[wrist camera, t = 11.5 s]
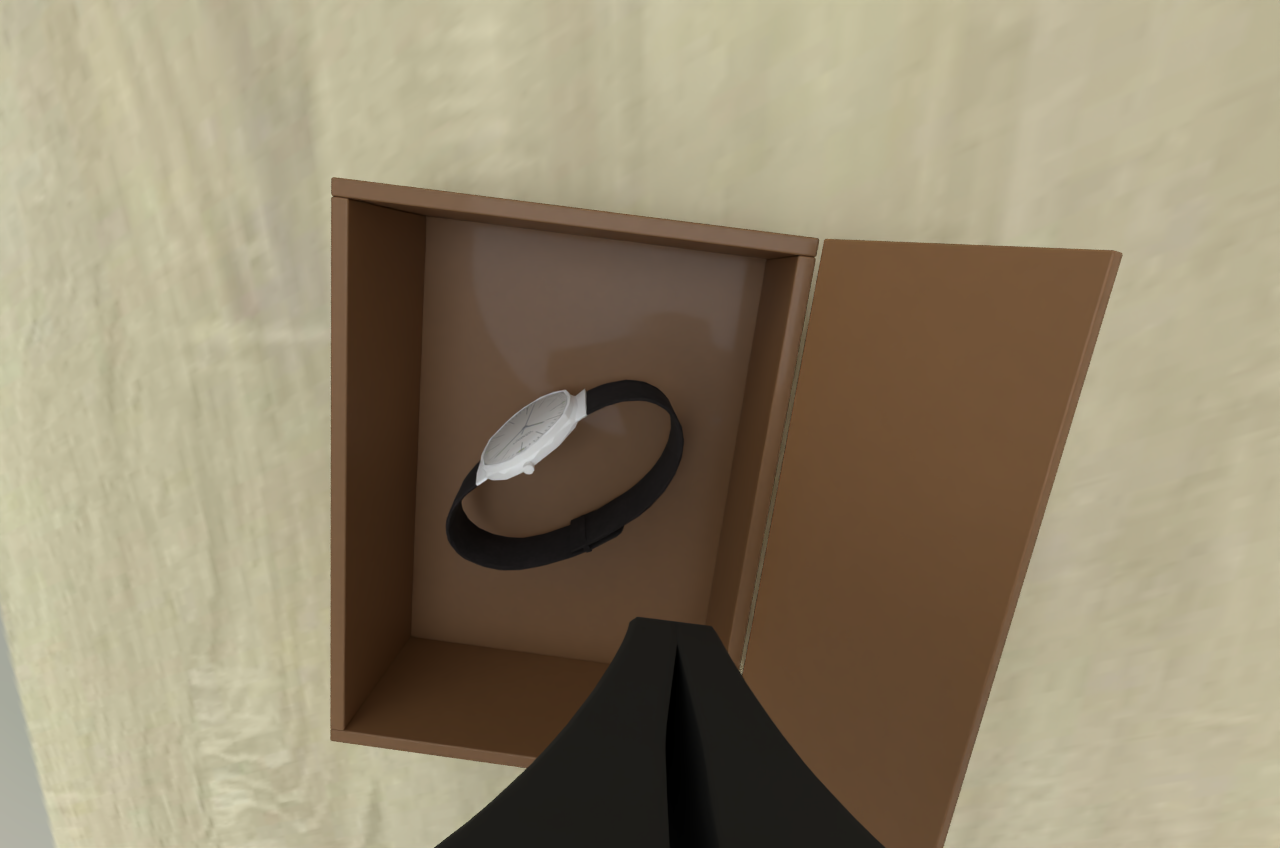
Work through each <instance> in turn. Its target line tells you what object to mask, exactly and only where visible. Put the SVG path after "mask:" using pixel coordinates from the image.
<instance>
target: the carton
mask: <svg viewBox="0 0 1280 848" xmlns="http://www.w3.org/2000/svg"><path fill="white" fill-rule="evenodd" d="M331 194H332V196H333V197H332V198H331V741H336V742H343V743H350V744H358V745H365V746H372V747H379V748H386V749H393V750H401V751H408V752H415V753H422V754H429V755H436V756H444V757H451V758H458V759H465V760H472V761H479V762H487V763H494V764H501V765H508V766H515V767H522V768H528V767H529V766H530V765H531V764H532V762H533V761H534V760H535V759H536V758H537V757H538V756H539V755H540V754H541V753H542V752H543V751H544V750H545V749H546V748H547V747H548V746H549V744H550V743H551V742H552V741H553V740H554V739H555V738H556V737H557V735H558V734H559V733H560V732H561V731H562V730H563V728H564V727H565V726H566V725H567V724H568V722H569V721H570V720H571V718H572V717H573V716H574V714H575V713H576V712H577V711H578V709H579V708H580V707H581V705H582V704H583V703H584V702H585V700H586V699H587V698H588V696H589V695H590V694H591V692H592V691H593V689H594V688H595V687H596V685H597V684H598V682H599V680H600V679H601V677H602V676H603V674H604V673H605V671H606V670H607V668H608V667H609V665H610V663H611V662H612V660H613V658H614V657H615V655H616V653H617V651H618V649H619V648H620V646H621V644H622V642H623V639H624V637H625V635H626V632H627V630H628V626H629V622H630V621H632V620H633V619H634V618H636V617H645V618H653V619H661V620H668V621H676V622H684V623H692V624H700V625H708V626H712V627H713V629H714V630H715V631H716V633H717V634H718V636H719V638H720V639H721V641H722V643H723V645H724V647H725V648H726V650H727V652H728V653H729V655H730V657H731V659H732V660H733V662H734V664H735V665H736V667H737V668H738V670H739V668H740V663H741V658H742V652H743V647H744V642H745V636H746V631H747V625H748V620H749V615H750V609H751V604H752V599H753V593H754V588H755V582H756V577H757V572H758V566H759V561H760V556H761V550H762V545H763V539H764V534H765V529H766V523H767V518H768V513H769V507H770V502H771V497H772V491H773V486H774V480H775V475H776V470H777V464H778V459H779V454H780V448H781V443H782V437H783V432H784V427H785V421H786V416H787V411H788V405H789V400H790V394H791V389H792V384H793V378H794V373H795V368H796V362H797V357H798V352H799V346H800V341H801V335H802V330H803V325H804V319H805V314H806V309H807V303H808V298H809V292H810V287H811V282H812V276H813V271H814V266H815V260H816V259H815V258H814V257H816V255H817V250H818V244H819V239H818V238H812V237H804V236H796V235H788V234H780V233H772V232H764V231H756V230H748V229H740V228H732V227H724V226H716V225H708V224H701V223H693V222H685V221H677V220H669V219H661V218H653V217H645V216H637V215H629V214H621V213H613V212H605V211H597V210H589V209H582V208H574V207H566V206H558V205H550V204H542V203H534V202H526V201H518V200H510V199H502V198H494V197H486V196H478V195H470V194H463V193H455V192H447V191H439V190H431V189H423V188H415V187H407V186H399V185H391V184H383V183H375V182H367V181H359V180H351V179H344V178H336V177H333V178H332V179H331ZM621 380H637V381H643V382H647V383H649V384H651V385H653V386H655V387H657V388H658V389H659V390H661V391H662V392H663V393H664V394H665V395H666V397H667V398H668V399H669V401H670V403H671V405H672V407H673V409H674V412H675V414H676V416H677V418H678V420H679V422H680V424H681V426H682V430H683V437H684V446H683V453H682V459H681V461H680V464H679V466H678V469H677V471H676V474H675V476H674V477H673V479H672V480H671V482H670V484H669V485H668V487H667V489H666V490H665V492H664V493H663V494H662V495H661V496H660V497H659V498H658V499H657V500H656V501H655V502H654V503H653V504H652V506H651V507H650V508H648V509H647V510H646V511H645V512H644V513H642V514H641V515H640V516H639V517H637V518H636V519H634V520H632V521H631V522H629V523H628V524H626V525H624V529H623V531H622V533H621V534H620V535H618V536H617V537H616V538H614V539H612V540H610V541H608V542H606V543H604V544H602V545H600V546H598V547H596V548H594V549H592V552H588V553H586V552H585V553H582V554H580V555H577V556H575V557H572V558H569V559H565V560H562V561H558V562H555V563H551V564H548V565H545V566H540V567H535V568H529V569H524V570H496V569H491V568H486V567H482V566H480V565H477V564H475V563H472V562H470V561H468V560H465V559H464V558H462V557H461V556H460V555H459V554H458V553H456V551H455V550H454V549H453V548H452V546H451V545H450V543H449V542H448V540H447V535H446V526H445V525H446V520H447V516H448V514H449V511H450V509H451V507H452V504H453V502H454V499H455V497H456V495H457V493H458V491H459V489H460V487H461V485H462V482H463V480H464V479H465V477H466V476H467V475H468V473H469V472H470V471H471V470H472V469H473V467H474V466H475V465H476V464H477V463H478V462H479V461H480V460H481V455H482V453H483V451H484V449H485V447H486V445H487V443H488V441H489V439H490V438H491V437H492V436H493V435H494V434H495V433H496V432H497V431H498V430H499V429H500V428H501V427H502V426H503V425H504V424H505V423H506V422H507V421H508V420H509V419H510V418H511V417H512V416H513V415H514V414H516V413H517V412H518V411H520V410H521V409H522V408H524V407H525V406H527V405H529V404H530V403H532V402H534V401H535V400H537V399H538V398H540V397H542V396H545V395H547V394H550V393H552V392H556V391H562V390H567V391H568V392H569V394H570V395H573V396H576V395H577V394H579V393H580V392H581V391H582V390H584V389H585V390H586V391H588V390H590V389H593V388H595V387H597V386H600V385H602V384H606V383H610V382H615V381H621ZM670 430H671V420H670V414H669V413H668V412H667V411H666V410H665V409H663V408H661V407H660V406H658V405H656V404H653V403H650V402H646V401H627V402H620V403H616V404H613V405H609V406H606V407H604V408H601V409H599V410H597V411H595V412H593V413H591V414H589V415H588V416H586V417H585V418H583V419H581V420H580V421H578V423H577V425H576V428H575V429H574V430H573V431H572V432H571V433H570V434H569V435H568V436H567V438H566V439H565V440H564V441H563V442H562V443H561V444H560V445H559V446H558V447H557V448H556V449H555V450H553V451H552V452H551V453H550V454H548V455H547V456H546V457H545V458H543V459H542V460H541V461H540V462H538V463H537V464H536V465H534V472H533V473H532V474H525V473H524V472H523V473H521V474H518V475H516V476H514V477H512V478H509V479H507V480H490V479H487V480H486V481H484V482H483V483H481V484H480V485H479V486H477V487H476V488H475V489H474V490H472V491H471V492H470V493H468V494H467V495H466V496H465V497H464V498H463V500H462V507H463V511H464V512H465V514H466V515H467V517H468V518H469V520H470V521H472V522H473V523H474V524H475V525H476V526H478V527H479V528H481V529H483V530H485V531H488V532H490V533H492V534H496V535H501V536H506V537H517V538H525V537H530V536H535V535H540V534H545V533H548V532H551V531H554V530H557V529H560V528H563V527H566V526H569V525H570V522H571V520H573V519H575V518H578V517H580V516H581V515H585V514H587V513H589V512H592V511H595V510H597V509H599V508H601V507H602V506H604V505H606V504H607V503H609V502H611V501H612V500H614V499H615V498H617V497H619V496H620V495H622V494H623V493H625V492H627V491H628V490H629V489H630V488H632V487H633V486H634V485H636V484H637V483H638V482H639V481H640V480H641V479H642V478H643V477H644V476H645V475H646V474H647V473H648V472H649V471H650V470H651V469H652V468H653V466H654V465H655V464H656V462H657V461H658V460H659V458H660V457H661V455H662V453H663V451H664V449H665V446H666V444H667V442H668V438H669V434H670Z"/></svg>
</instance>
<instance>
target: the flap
mask: <svg viewBox="0 0 1280 848" xmlns="http://www.w3.org/2000/svg"><path fill="white" fill-rule="evenodd" d="M1121 258H1122V253H1120V252H1117V251H1114V250H1090V249H1065V248H1040V247H1015V246H990V245H965V244H940V243H915V242H890V241H865V240H840V239H825V240H824V244H823V249H822V255H821V260H820V265H819V271H818V276H817V281H816V287H815V292H814V297H813V303H812V308H811V313H810V319H809V324H808V329H807V335H806V340H805V345H804V350H803V356H802V361H801V366H800V372H799V377H798V382H797V388H796V393H795V398H794V404H793V409H792V414H791V420H790V425H789V430H788V436H787V441H786V446H785V451H784V457H783V462H782V467H781V473H780V478H779V483H778V489H777V494H776V499H775V505H774V510H773V515H772V521H771V526H770V531H769V537H768V542H767V547H766V552H765V558H764V563H763V568H762V574H761V579H760V584H759V590H758V595H757V600H756V606H755V611H754V616H753V622H752V627H751V632H750V638H749V643H748V648H747V653H746V659H745V664H744V669H743V675H742V676H743V678H744V680H745V681H746V683H747V684H748V686H749V687H750V689H751V690H752V692H753V693H754V695H755V696H756V698H757V699H758V701H759V702H760V704H761V705H762V706H763V708H764V709H765V711H766V712H767V714H768V715H769V717H770V718H771V720H772V721H773V722H774V724H775V725H776V726H777V728H778V729H779V730H780V732H781V733H782V735H783V736H784V737H785V738H786V740H787V741H788V742H789V744H790V745H791V746H792V747H793V749H794V750H795V751H796V753H797V754H798V755H799V756H800V758H801V759H802V760H803V761H804V763H805V764H806V765H807V766H808V767H809V769H810V770H811V771H812V772H813V773H814V774H815V776H816V777H817V778H818V779H819V780H820V781H821V782H822V783H823V784H824V785H825V786H826V788H827V789H828V790H829V791H830V792H831V793H832V794H833V795H834V796H835V797H836V798H837V799H838V800H839V802H840V803H841V804H842V805H843V806H844V807H845V808H846V809H847V810H848V811H849V812H850V813H851V814H852V815H853V816H854V817H855V818H856V819H857V820H858V821H859V822H860V823H861V824H862V825H863V826H864V827H865V828H866V829H867V830H868V831H869V832H870V833H871V834H872V835H873V836H874V837H875V838H876V839H877V840H878V841H879V842H880V843H881V844H882V845H883V846H884V847H886V848H943V846H944V843H945V840H946V836H947V833H948V830H949V826H950V823H951V820H952V817H953V813H954V810H955V807H956V803H957V800H958V797H959V793H960V790H961V787H962V783H963V780H964V777H965V774H966V770H967V767H968V764H969V760H970V757H971V754H972V750H973V747H974V744H975V741H976V737H977V734H978V731H979V727H980V724H981V721H982V717H983V714H984V711H985V707H986V704H987V701H988V698H989V694H990V691H991V688H992V684H993V681H994V678H995V674H996V671H997V668H998V665H999V661H1000V658H1001V655H1002V651H1003V648H1004V645H1005V641H1006V638H1007V635H1008V631H1009V628H1010V625H1011V622H1012V618H1013V615H1014V612H1015V608H1016V605H1017V602H1018V598H1019V595H1020V592H1021V589H1022V585H1023V582H1024V579H1025V575H1026V572H1027V569H1028V565H1029V562H1030V559H1031V555H1032V552H1033V549H1034V546H1035V542H1036V539H1037V536H1038V532H1039V529H1040V526H1041V522H1042V519H1043V516H1044V513H1045V509H1046V506H1047V503H1048V499H1049V496H1050V493H1051V489H1052V486H1053V483H1054V479H1055V476H1056V473H1057V470H1058V466H1059V463H1060V460H1061V456H1062V453H1063V450H1064V446H1065V443H1066V440H1067V437H1068V433H1069V430H1070V427H1071V423H1072V420H1073V417H1074V413H1075V410H1076V407H1077V403H1078V400H1079V397H1080V394H1081V390H1082V387H1083V384H1084V380H1085V377H1086V374H1087V370H1088V367H1089V364H1090V361H1091V357H1092V354H1093V351H1094V347H1095V344H1096V341H1097V337H1098V334H1099V331H1100V327H1101V324H1102V321H1103V318H1104V314H1105V311H1106V308H1107V304H1108V301H1109V298H1110V294H1111V291H1112V288H1113V285H1114V281H1115V278H1116V275H1117V271H1118V268H1119V265H1120V261H1121Z"/></svg>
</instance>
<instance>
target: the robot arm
mask: <svg viewBox="0 0 1280 848" xmlns="http://www.w3.org/2000/svg"><path fill="white" fill-rule="evenodd" d="M434 848H886V847H884V846H883V845H882V844H881V843H880V842H879V841H878V840H877V839H876V838H875V837H874V836H873V835H872V834H871V833H870V832H869V831H868V830H867V829H866V828H865V827H864V826H863V825H862V824H861V823H860V822H859V821H858V820H857V819H856V818H855V817H854V816H853V815H852V814H851V813H850V812H849V811H848V810H847V809H846V808H845V807H844V806H843V805H842V804H841V803H840V802H839V800H838V799H837V798H836V797H835V796H834V795H833V794H832V793H831V792H830V791H829V790H828V789H827V788H826V786H825V785H824V784H823V783H822V782H821V781H820V780H819V779H818V778H817V777H816V776H815V774H814V773H813V772H812V771H811V770H810V769H809V767H808V766H807V765H806V764H805V763H804V761H803V760H802V759H801V758H800V756H799V755H798V754H797V753H796V751H795V750H794V749H793V747H792V746H791V745H790V744H789V742H788V741H787V740H786V738H785V737H784V736H783V735H782V733H781V732H780V730H779V729H778V728H777V726H776V725H775V724H774V722H773V721H772V720H771V718H770V717H769V715H768V714H767V712H766V711H765V709H764V708H763V706H762V705H761V704H760V702H759V701H758V699H757V698H756V696H755V695H754V693H753V692H752V690H751V689H750V687H749V686H748V684H747V683H746V681H745V680H744V678H743V676H742V675H741V673H740V672H739V670H738V668H737V667H736V665H735V664H734V662H733V660H732V659H731V657H730V655H729V653H728V652H727V650H726V648H725V647H724V645H723V643H722V641H721V639H720V638H719V636H718V634H717V633H716V631H715V630H714V629H713V627H712V626H708V625H700V624H692V623H684V622H676V621H668V620H661V619H653V618H645V617H636V618H634V619H633V620H632V621H630V622H629V626H628V630H627V632H626V635H625V637H624V639H623V642H622V644H621V646H620V648H619V649H618V651H617V653H616V655H615V657H614V658H613V660H612V662H611V663H610V665H609V667H608V668H607V670H606V671H605V673H604V674H603V676H602V677H601V679H600V680H599V682H598V684H597V685H596V687H595V688H594V689H593V691H592V692H591V694H590V695H589V696H588V698H587V699H586V700H585V702H584V703H583V704H582V705H581V707H580V708H579V709H578V711H577V712H576V713H575V714H574V716H573V717H572V718H571V720H570V721H569V722H568V724H567V725H566V726H565V727H564V728H563V730H562V731H561V732H560V733H559V734H558V735H557V737H556V738H555V739H554V740H553V741H552V742H551V743H550V744H549V746H548V747H547V748H546V749H545V750H544V751H543V752H542V753H541V754H540V755H539V756H538V757H537V758H536V759H535V760H534V761H533V762H532V764H531V765H530V766H529V767H528V768H527V769H526V770H525V771H524V772H523V773H522V774H521V775H519V776H518V777H517V778H516V779H515V780H514V781H513V782H512V783H511V784H510V785H509V786H508V787H507V788H506V789H504V790H503V791H502V792H501V793H500V794H499V795H498V796H497V797H496V798H495V799H494V800H493V801H492V802H490V803H489V804H488V805H487V806H486V807H485V808H484V809H482V810H481V811H480V812H479V813H478V814H477V815H475V816H474V817H473V818H472V819H471V820H469V821H468V822H467V823H466V824H464V825H463V826H462V827H460V828H459V829H458V830H457V831H455V832H454V833H453V834H451V835H450V836H449V837H447V838H446V839H445V840H443V841H442V842H441V843H440V844H438V845H437V846H436V847H434Z"/></svg>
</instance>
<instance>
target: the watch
mask: <svg viewBox="0 0 1280 848" xmlns="http://www.w3.org/2000/svg"><path fill="white" fill-rule="evenodd" d="M627 401H646V402H650V403H653V404H656V405H658V406H660V407H661V408H663V409H665V410H666V411H667V412H668V413H669V414H670V420H671V430H670V434H669V438H668V442H667V444H666V446H665V449H664V451H663V453H662V455H661V457H660V458H659V460H658V461H657V462H656V464H655V465H654V466H653V468H652V469H651V470H650V471H649V472H648V473H647V474H646V475H645V476H644V477H643V478H642V479H641V480H640V481H639V482H638V483H637V484H636V485H634V486H633V487H632V488H630V489H629V490H628V491H627V492H625V493H623V494H622V495H620V496H619V497H617V498H615V499H614V500H612V501H611V502H609V503H607V504H606V505H604V506H602V507H601V508H599V509H597V510H595V511H592V512H589V513H587V514H585V515H581V516H580V517H578V518H575V519H573V520H571V522H570V525H569V526H566V527H563V528H560V529H557V530H554V531H551V532H548V533H545V534H540V535H535V536H530V537H525V538H517V537H506V536H501V535H496V534H492V533H490V532H488V531H485V530H483V529H481V528H479V527H478V526H476V525H475V524H474V523H473V522H472V521H470V520H469V518H468V517H467V515H466V514H465V512H464V511H463V507H462V500H463V498H464V497H465V496H466V495H467V494H468V493H470V492H471V491H472V490H474V489H475V488H476V487H477V486H479V485H480V484H481V483H483V482H484V481H486V480H487V479H490V480H507V479H509V478H512V477H514V476H516V475H518V474H521V473H523V472H524V473H525V474H532V473H533V472H534V465H536V464H537V463H538V462H540V461H541V460H542V459H543V458H545V457H546V456H547V455H548V454H550V453H551V452H552V451H553V450H555V449H556V448H557V447H558V446H559V445H560V444H561V443H562V442H563V441H564V440H565V439H566V438H567V436H568V435H569V434H570V433H571V432H572V431H573V430H574V429H575V428H576V425H577V423H578V421H580V420H581V419H583V418H585V417H586V416H588V415H589V414H591V413H593V412H595V411H597V410H599V409H601V408H604V407H606V406H609V405H613V404H616V403H620V402H627ZM683 446H684V437H683V430H682V426H681V424H680V422H679V420H678V418H677V416H676V414H675V412H674V409H673V407H672V405H671V403H670V401H669V399H668V398H667V397H666V395H665V394H664V393H663V392H662V391H661V390H659V389H658V388H657V387H655V386H653V385H651V384H649V383H647V382H643V381H637V380H621V381H615V382H610V383H606V384H602V385H600V386H597V387H595V388H593V389H590V390H588V391H586V390H585V389H584V390H582V391H581V392H580V393H579V394H577V395H576V396H573V395H570V394H569V392H568V391H567V390H562V391H556V392H552V393H550V394H547V395H545V396H542V397H540V398H538V399H537V400H535V401H534V402H532V403H530V404H529V405H527V406H525V407H524V408H522V409H521V410H520V411H518V412H517V413H516V414H514V415H513V416H512V417H511V418H510V419H509V420H508V421H507V422H506V423H505V424H504V425H503V426H502V427H501V428H500V429H499V430H498V431H497V432H496V433H495V434H494V435H493V436H492V437H491V438H490V439H489V441H488V443H487V445H486V447H485V449H484V451H483V453H482V455H481V460H480V461H479V462H478V463H477V464H476V465H475V466H474V467H473V469H472V470H471V471H470V472H469V473H468V475H467V476H466V477H465V479H464V480H463V482H462V485H461V487H460V489H459V491H458V493H457V495H456V497H455V499H454V502H453V504H452V507H451V509H450V511H449V514H448V516H447V520H446V525H445V526H446V535H447V540H448V542H449V543H450V545H451V546H452V548H453V549H454V550H455V551H456V553H458V554H459V555H460V556H461V557H462V558H464V559H465V560H468V561H470V562H472V563H475V564H477V565H480V566H482V567H486V568H491V569H496V570H524V569H529V568H535V567H540V566H545V565H548V564H551V563H555V562H558V561H562V560H565V559H569V558H572V557H575V556H577V555H580V554H582V553H585V552H586V553H588V552H592V549H594V548H596V547H598V546H600V545H602V544H604V543H606V542H608V541H610V540H612V539H614V538H616V537H617V536H618V535H620V534H621V533H622V531H623V529H624V525H626V524H628V523H629V522H631V521H632V520H634V519H636V518H637V517H639V516H640V515H641V514H642V513H644V512H645V511H646V510H647V509H648V508H650V507H651V506H652V504H653V503H654V502H655V501H656V500H657V499H658V498H659V497H660V496H661V495H662V494H663V493H664V492H665V490H666V489H667V487H668V485H669V484H670V482H671V480H672V479H673V477H674V476H675V474H676V471H677V469H678V466H679V464H680V461H681V459H682V453H683Z"/></svg>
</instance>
